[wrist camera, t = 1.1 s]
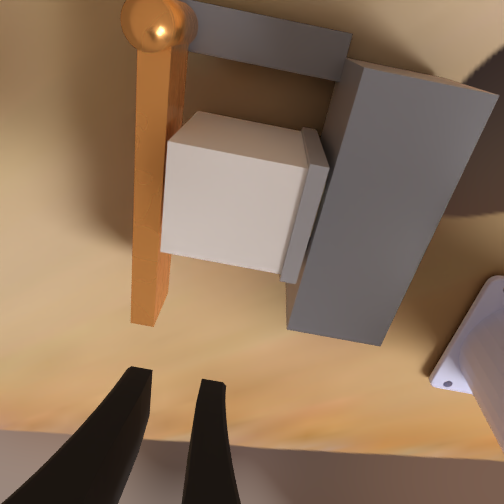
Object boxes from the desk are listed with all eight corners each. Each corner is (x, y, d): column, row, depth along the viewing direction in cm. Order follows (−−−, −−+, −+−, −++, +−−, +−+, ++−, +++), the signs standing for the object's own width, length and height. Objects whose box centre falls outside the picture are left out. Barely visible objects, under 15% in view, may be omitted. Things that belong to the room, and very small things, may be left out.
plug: (362, 138, 16) (393, 180, 12) (333, 230, 18) (349, 294, 14) (198, 105, 16) (166, 135, 12) (188, 202, 18) (158, 258, 14)
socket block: (451, 54, 15) (513, 65, 11) (360, 283, 20) (380, 346, 16) (164, -6, 14) (119, -18, 10) (151, 244, 20) (118, 299, 16)
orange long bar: (159, -4, 13) (120, -13, 10) (200, 5, 13) (174, -2, 10) (146, 283, 19) (119, 335, 16) (173, 288, 19) (152, 341, 16)
